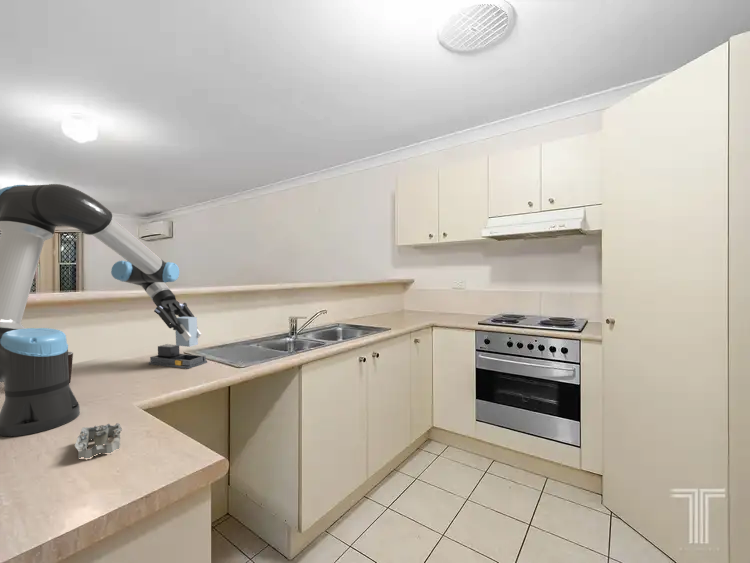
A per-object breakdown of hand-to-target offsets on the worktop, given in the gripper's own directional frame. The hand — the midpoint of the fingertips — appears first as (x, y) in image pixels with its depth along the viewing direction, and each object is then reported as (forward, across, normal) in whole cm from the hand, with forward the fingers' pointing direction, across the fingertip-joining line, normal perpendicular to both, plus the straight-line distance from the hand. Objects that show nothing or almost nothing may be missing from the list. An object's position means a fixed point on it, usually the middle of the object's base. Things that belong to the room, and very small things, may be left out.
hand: (194, 337), depth 137 cm
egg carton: (+31, +55, +15) cm, 65 cm away
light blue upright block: (0, 0, -5) cm, 5 cm away
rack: (+2, 0, -14) cm, 14 cm away
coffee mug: (-12, +32, -27) cm, 43 cm away
